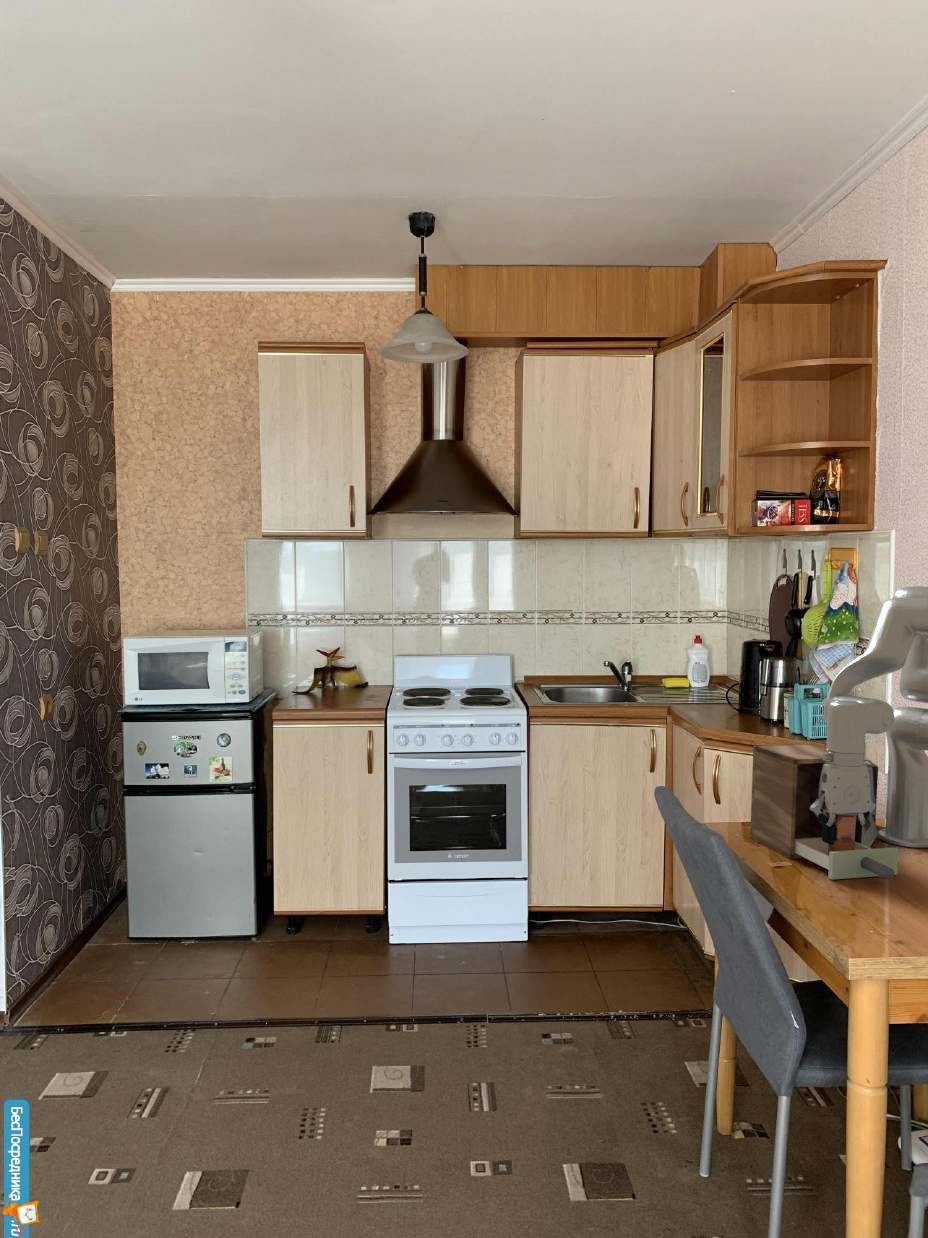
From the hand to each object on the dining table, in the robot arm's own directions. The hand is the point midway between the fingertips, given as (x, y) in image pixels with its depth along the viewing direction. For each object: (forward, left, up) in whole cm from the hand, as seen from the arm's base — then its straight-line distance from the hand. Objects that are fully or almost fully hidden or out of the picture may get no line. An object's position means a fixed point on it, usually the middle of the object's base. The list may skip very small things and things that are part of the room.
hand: (841, 841), depth 198 cm
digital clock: (-15, -13, -5) cm, 21 cm away
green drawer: (0, +3, -5) cm, 6 cm away
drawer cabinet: (0, -14, -5) cm, 15 cm away
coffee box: (-24, -26, -6) cm, 37 cm away
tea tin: (0, 0, -3) cm, 3 cm away
